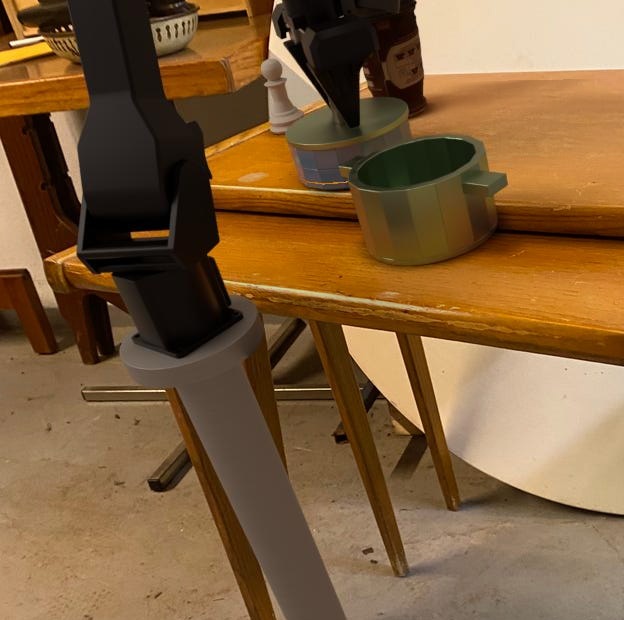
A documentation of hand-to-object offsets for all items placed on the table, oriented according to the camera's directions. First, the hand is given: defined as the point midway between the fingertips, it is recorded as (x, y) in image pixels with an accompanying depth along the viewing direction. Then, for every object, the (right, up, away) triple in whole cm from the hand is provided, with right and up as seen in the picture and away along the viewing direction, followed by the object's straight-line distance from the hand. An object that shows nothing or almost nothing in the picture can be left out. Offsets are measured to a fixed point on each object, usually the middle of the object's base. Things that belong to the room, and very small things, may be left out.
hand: (345, 118), depth 93 cm
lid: (0, -1, 0) cm, 1 cm away
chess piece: (-10, +6, +19) cm, 22 cm away
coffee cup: (+5, +7, +15) cm, 17 cm away
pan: (+1, -4, +3) cm, 5 cm away
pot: (+10, -15, -13) cm, 22 cm away
